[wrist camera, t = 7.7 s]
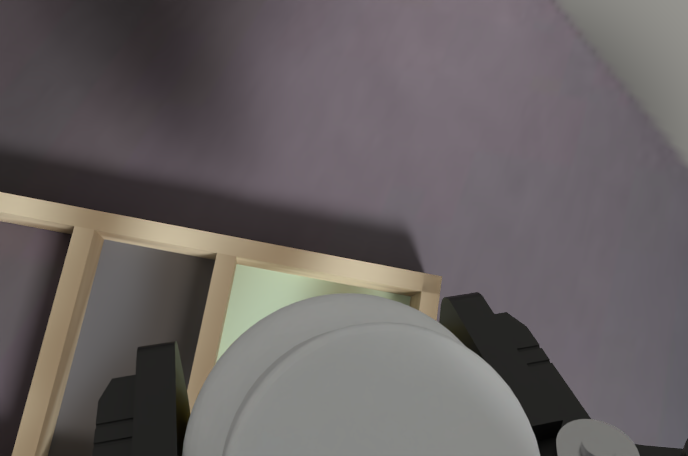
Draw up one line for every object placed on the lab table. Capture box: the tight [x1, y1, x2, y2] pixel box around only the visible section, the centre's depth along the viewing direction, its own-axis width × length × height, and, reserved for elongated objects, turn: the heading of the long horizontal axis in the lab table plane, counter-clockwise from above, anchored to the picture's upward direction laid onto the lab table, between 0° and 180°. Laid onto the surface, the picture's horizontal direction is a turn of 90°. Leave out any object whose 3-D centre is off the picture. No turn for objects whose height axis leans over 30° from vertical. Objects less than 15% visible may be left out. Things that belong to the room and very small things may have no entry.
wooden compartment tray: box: [0, 192, 442, 456], centre depth 26 cm, size 30×12×2 cm, turn 80°
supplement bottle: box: [182, 293, 540, 456], centre depth 12 cm, size 5×5×10 cm
